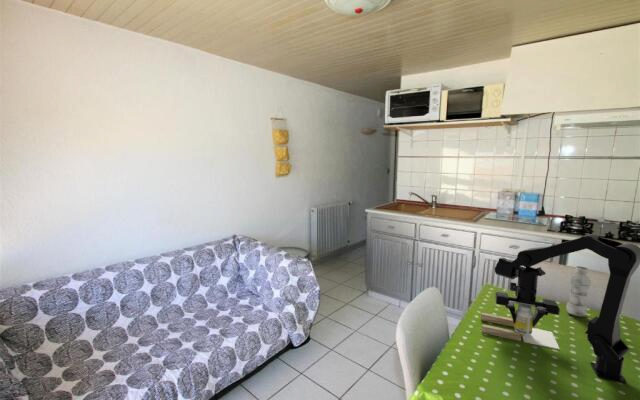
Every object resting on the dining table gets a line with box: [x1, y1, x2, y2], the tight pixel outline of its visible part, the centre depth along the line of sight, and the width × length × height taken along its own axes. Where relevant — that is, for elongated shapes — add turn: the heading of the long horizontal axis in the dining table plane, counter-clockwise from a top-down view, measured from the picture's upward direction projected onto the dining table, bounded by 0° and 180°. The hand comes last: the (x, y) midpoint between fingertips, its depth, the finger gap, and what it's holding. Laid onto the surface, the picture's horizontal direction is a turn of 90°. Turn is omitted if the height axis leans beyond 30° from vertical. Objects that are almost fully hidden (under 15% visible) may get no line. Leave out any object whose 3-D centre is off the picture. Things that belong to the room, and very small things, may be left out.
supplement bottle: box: [513, 304, 534, 335], centre depth 110 cm, size 5×5×10 cm
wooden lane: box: [480, 312, 522, 342], centre depth 114 cm, size 11×12×2 cm
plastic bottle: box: [565, 265, 592, 317], centre depth 123 cm, size 6×7×20 cm
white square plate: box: [521, 327, 561, 351], centre depth 109 cm, size 11×10×1 cm
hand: (523, 324), depth 110 cm, fingers closed on supplement bottle, 5 cm apart
